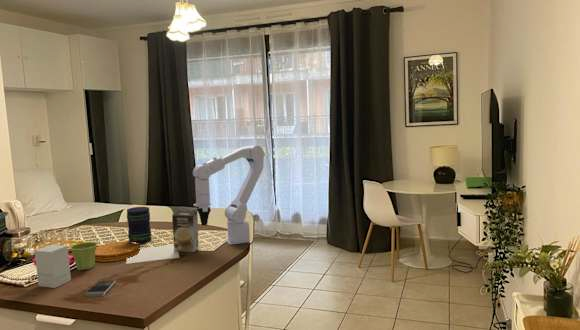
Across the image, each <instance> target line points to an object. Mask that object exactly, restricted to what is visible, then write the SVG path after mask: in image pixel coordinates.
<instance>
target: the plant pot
mask: <svg viewBox="0 0 580 330" xmlns="http://www.w3.org/2000/svg"><path fill="white" fill-rule="evenodd" d="M97 246H98V243H97V242H96V241H95V242H94V241H87V242H86V241H85V242H80V243H76V244H72V245H71V246H69V249H70V251H71V253H72V255H73V259H74V262H75V263H74V264H75V267H76V270H77V271H84V270H91V269H92V268H94V267H95V262H96V250H97Z"/></svg>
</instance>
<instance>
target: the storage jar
mask: <svg viewBox="0 0 580 330" xmlns="http://www.w3.org/2000/svg"><path fill="white" fill-rule="evenodd" d="M126 219H127V221H126V222H127V223H128V225H127V227H128V231H127V233H128V237H127V238H128V242H129V241H130V242H136V243H139V244H138V245H143V244H144V245H145V244H147V243H150V242H151V241H152V229H151V223H150V222H151V221H150V220H151V213H150V207H148V206H135V207H130V208H127V209H126Z"/></svg>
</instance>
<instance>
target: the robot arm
mask: <svg viewBox="0 0 580 330" xmlns="http://www.w3.org/2000/svg"><path fill="white" fill-rule="evenodd" d="M265 156H266V154H265V151H264V149H263V148H262V146H260V145H252V144H246V145H245V146H242V147H240V148H238V149H236V150H234V151H232V152H229V153H228V154H226V155H225V156H223V157H220V156H213V157H212V159H210V160H209V161H204V162H202V164H197V165H195V167H194V168H193V171H192V176H193V177H194V181H195V183H194V185H195V187H194V188H195V200H196V201H195V203H194V204H193V207H197V208H196V211H197V214H198V215H199V219H200V223H201V226H207V225H208V220H209V217H210V212H211V211H212V210H211V207H210V206H211V196H210V177H211V176H212V175H214V174H216V173H218V172H220V171H222V170H224V169H225V167H226V165H228V164H230V163H233V162H235V161H237V160H239V159H243V158H244V159H246V161H247V162H248V165H249V170H248V172H247V174H246V175H245V178H244V180H243V182H242V185H241V187H240V189H239V191H238V193H237V195H236V197H235V199H233V200H232V201H231V203H230V204H229V205H228V206H227V207H226V208H225V210H224V215H225V218H226V219H227V238H226V242H227V244H228V245H238V244H247V243H251V239H250V238H251V237H250V236H251V235H250V234H251V233H250V223H249V221H248V220H246V217H247V212H248V204H247V203H248V202H249V200H250V198H251V196H252V194H253V192H254V189H255V187H256V185H257V183H258V180H259V178H260V177H261V174H262V173H263V172H262V171H263V170H264V158H265Z"/></svg>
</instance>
